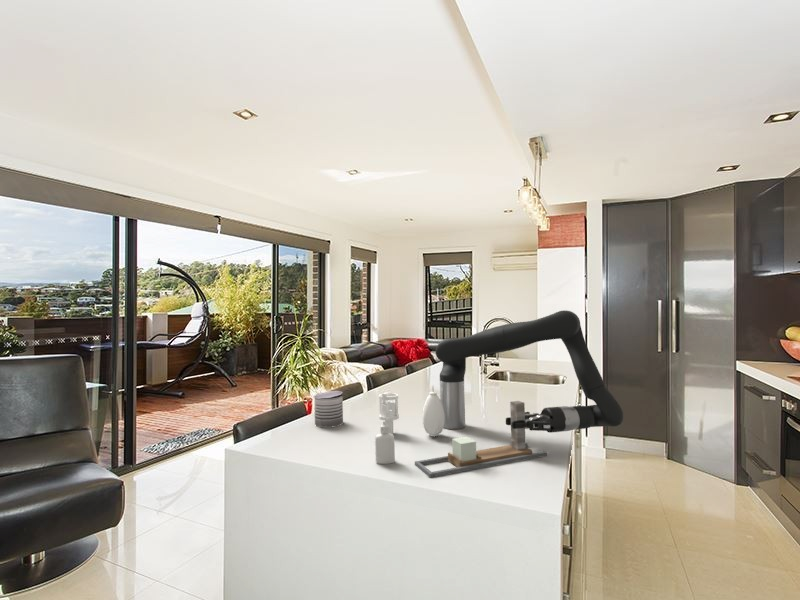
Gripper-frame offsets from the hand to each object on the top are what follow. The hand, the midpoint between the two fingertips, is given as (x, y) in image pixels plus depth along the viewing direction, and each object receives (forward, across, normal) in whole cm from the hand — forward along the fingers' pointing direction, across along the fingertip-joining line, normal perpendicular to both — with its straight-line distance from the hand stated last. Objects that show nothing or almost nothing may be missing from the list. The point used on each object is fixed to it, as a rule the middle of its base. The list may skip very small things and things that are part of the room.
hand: (509, 423), depth 131 cm
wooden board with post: (+7, +2, +10) cm, 12 cm away
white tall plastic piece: (+32, -32, +10) cm, 46 cm away
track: (+9, +2, +10) cm, 14 cm away
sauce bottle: (+17, -24, +10) cm, 31 cm away
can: (+52, -51, +10) cm, 74 cm away
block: (+16, +3, +8) cm, 18 cm away
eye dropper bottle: (+38, -4, +10) cm, 39 cm away
